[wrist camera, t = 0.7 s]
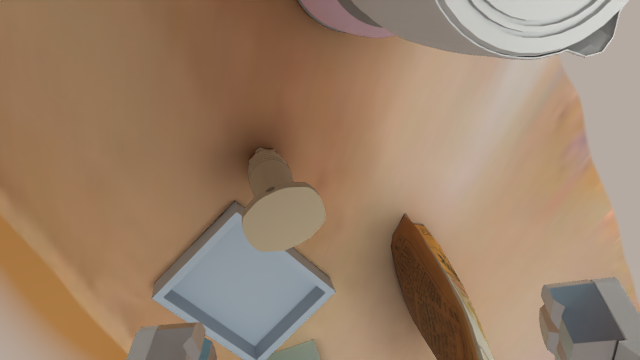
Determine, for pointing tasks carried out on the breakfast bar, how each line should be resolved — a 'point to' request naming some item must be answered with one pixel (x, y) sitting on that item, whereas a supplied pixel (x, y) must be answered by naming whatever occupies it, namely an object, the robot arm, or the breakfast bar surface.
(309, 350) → the right angle wall
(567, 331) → the robot arm
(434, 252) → the pancake mix bag
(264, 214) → the handle
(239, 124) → the breakfast bar surface
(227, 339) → the tray
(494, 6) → the blender
